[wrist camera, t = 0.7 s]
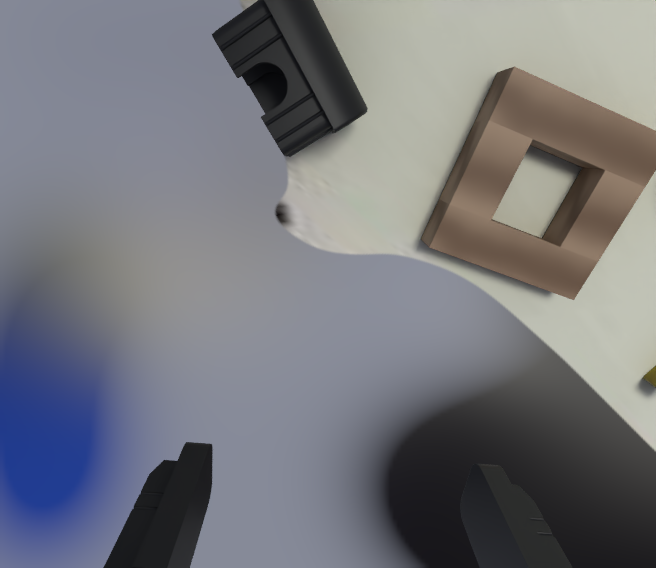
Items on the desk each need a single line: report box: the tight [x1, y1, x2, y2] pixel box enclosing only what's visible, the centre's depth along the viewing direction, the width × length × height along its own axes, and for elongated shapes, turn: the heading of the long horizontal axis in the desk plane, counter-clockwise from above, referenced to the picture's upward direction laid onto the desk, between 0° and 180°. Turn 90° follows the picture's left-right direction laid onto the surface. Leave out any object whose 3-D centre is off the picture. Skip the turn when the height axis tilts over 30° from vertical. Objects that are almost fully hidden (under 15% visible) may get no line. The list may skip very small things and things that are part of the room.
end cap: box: [212, 0, 367, 157], centre depth 29 cm, size 10×7×7 cm
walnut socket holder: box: [421, 67, 656, 300], centre depth 35 cm, size 15×15×3 cm
